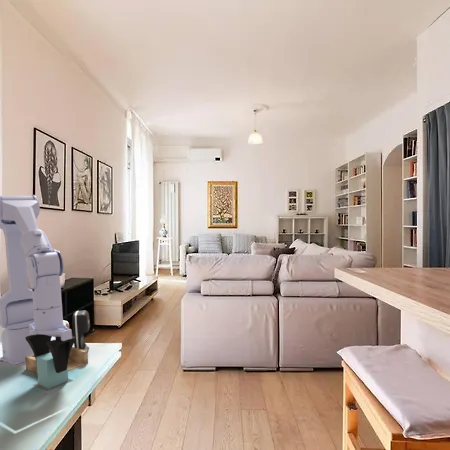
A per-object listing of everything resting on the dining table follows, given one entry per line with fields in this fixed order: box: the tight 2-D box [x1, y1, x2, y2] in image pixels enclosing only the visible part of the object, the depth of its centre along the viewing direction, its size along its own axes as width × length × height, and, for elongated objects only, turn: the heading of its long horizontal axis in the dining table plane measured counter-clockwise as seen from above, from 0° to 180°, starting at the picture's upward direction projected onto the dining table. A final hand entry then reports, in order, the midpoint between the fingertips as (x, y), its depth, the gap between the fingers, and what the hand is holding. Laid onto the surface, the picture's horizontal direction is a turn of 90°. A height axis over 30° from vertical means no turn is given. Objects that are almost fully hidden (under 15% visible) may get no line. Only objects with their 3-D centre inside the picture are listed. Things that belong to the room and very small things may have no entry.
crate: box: [25, 346, 89, 374], centre depth 94 cm, size 11×10×3 cm
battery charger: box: [72, 309, 91, 354], centre depth 103 cm, size 7×4×11 cm, turn 15°
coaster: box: [33, 377, 74, 392], centre depth 83 cm, size 6×6×1 cm
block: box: [36, 352, 69, 389], centre depth 83 cm, size 4×4×6 cm
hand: (52, 368), depth 83 cm, fingers open, 7 cm apart
